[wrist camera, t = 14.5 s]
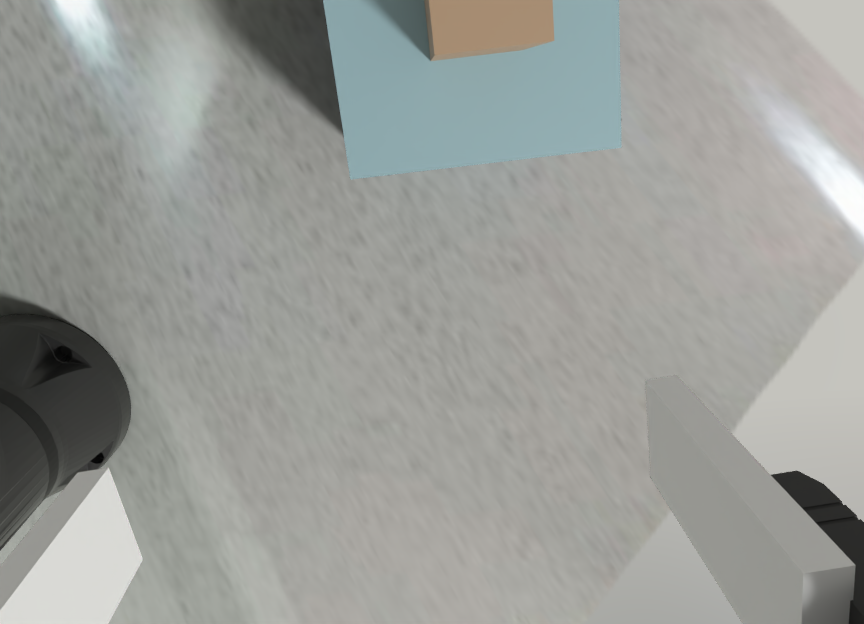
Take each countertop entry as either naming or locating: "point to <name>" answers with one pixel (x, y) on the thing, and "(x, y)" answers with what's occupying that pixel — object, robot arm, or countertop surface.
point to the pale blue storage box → (473, 80)
